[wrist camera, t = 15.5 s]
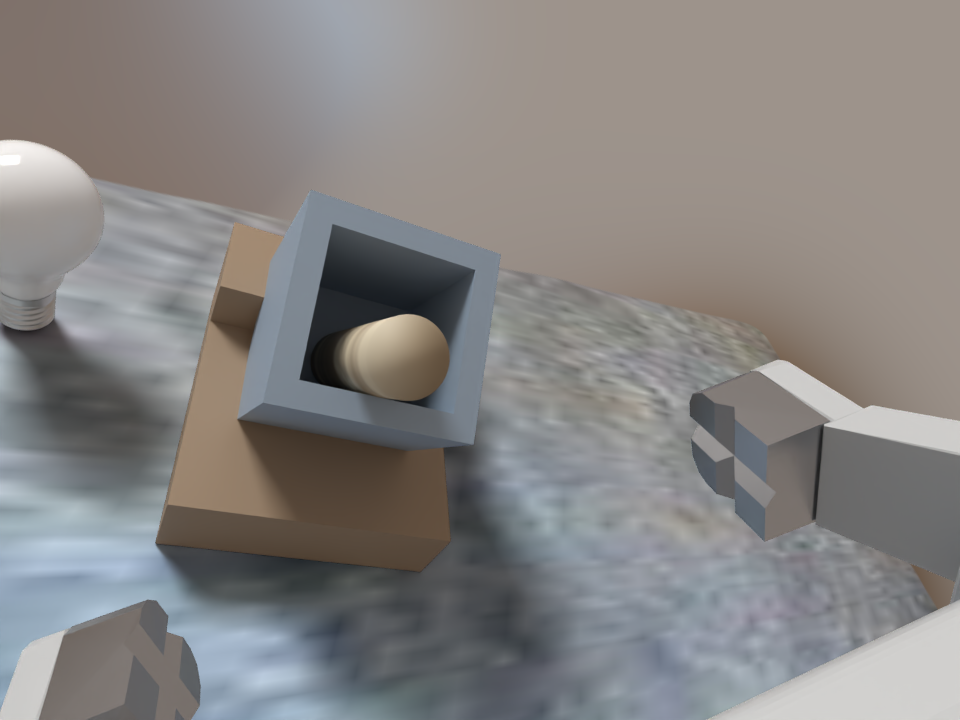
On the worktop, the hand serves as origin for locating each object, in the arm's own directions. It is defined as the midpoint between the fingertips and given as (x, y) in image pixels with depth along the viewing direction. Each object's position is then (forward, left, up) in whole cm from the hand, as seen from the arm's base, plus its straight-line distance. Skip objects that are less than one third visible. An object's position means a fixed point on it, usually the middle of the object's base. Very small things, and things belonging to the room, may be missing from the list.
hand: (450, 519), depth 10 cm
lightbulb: (-12, +23, -25) cm, 36 cm away
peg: (+4, +20, -19) cm, 28 cm away
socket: (+4, +19, -25) cm, 32 cm away
